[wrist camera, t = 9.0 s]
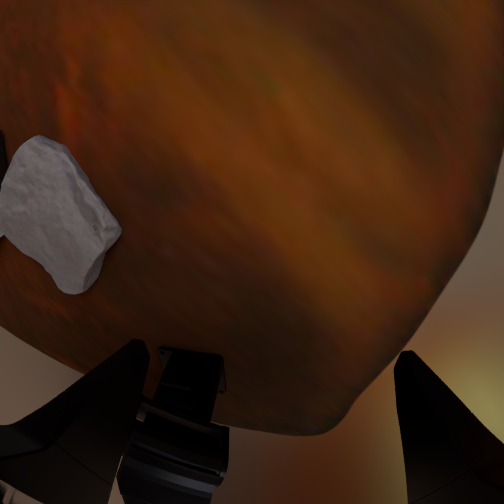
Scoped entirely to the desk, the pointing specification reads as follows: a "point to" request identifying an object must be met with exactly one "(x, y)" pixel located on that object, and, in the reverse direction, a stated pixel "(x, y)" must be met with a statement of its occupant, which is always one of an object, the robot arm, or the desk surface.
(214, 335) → the desk surface
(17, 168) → the stone block
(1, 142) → the black rectangular block
